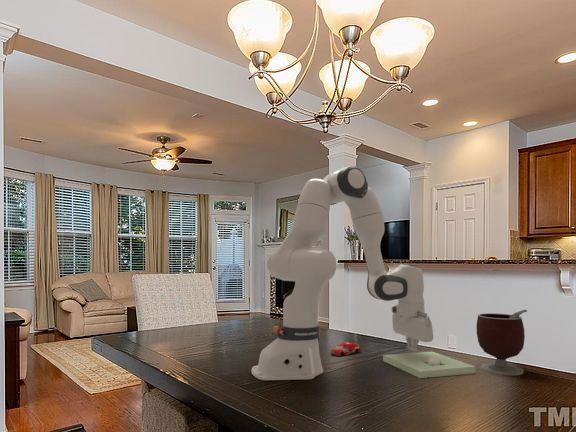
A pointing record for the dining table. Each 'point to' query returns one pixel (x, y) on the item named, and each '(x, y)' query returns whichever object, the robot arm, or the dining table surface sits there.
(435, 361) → the ball
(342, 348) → the race car
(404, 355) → the mat
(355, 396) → the dining table surface
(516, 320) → the mate gourd
